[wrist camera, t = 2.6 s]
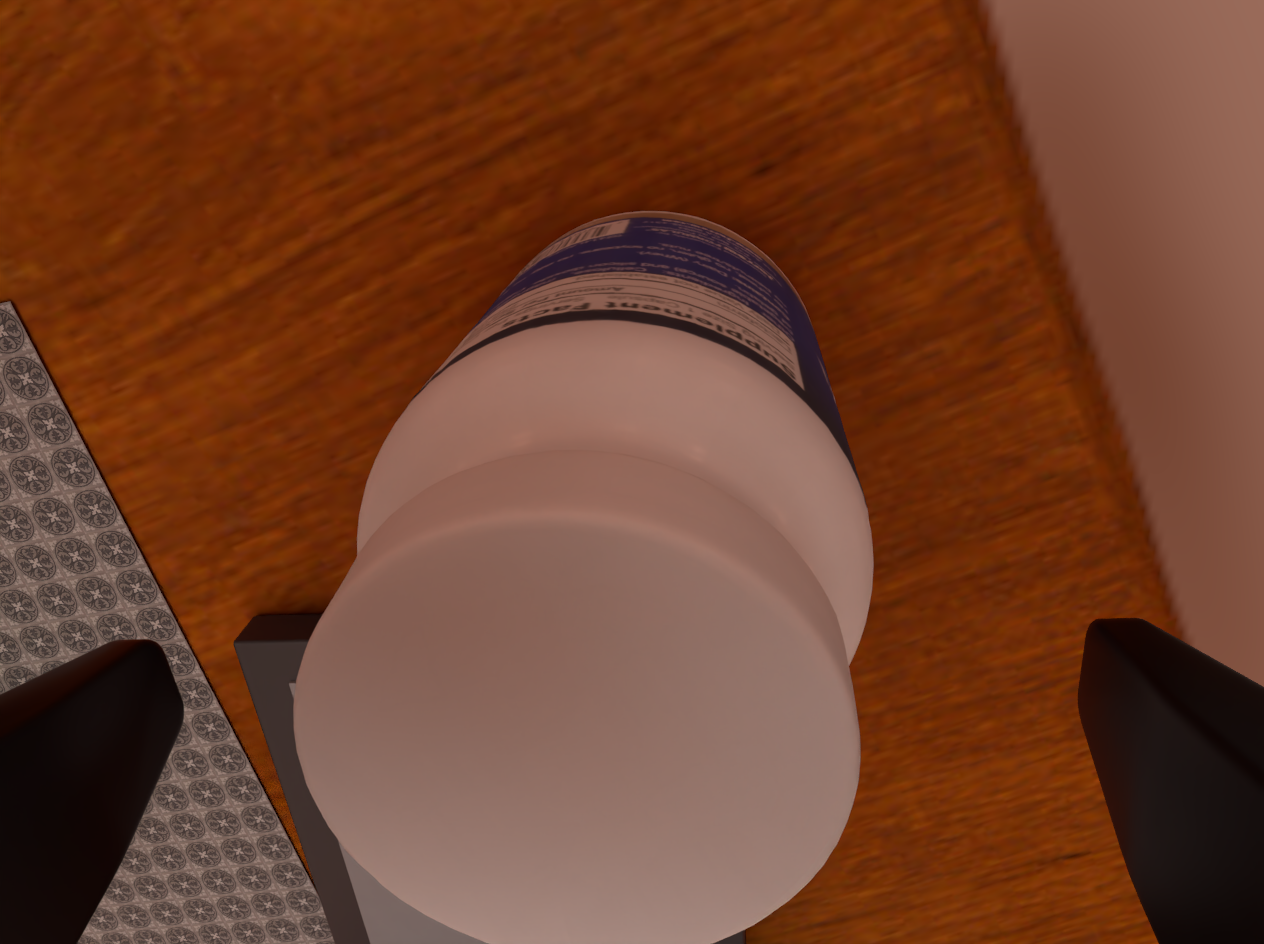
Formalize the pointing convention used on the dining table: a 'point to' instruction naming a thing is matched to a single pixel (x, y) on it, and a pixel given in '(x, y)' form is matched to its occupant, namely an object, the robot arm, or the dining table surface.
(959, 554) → the dining table surface
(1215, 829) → the robot arm
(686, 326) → the pill bottle
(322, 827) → the tray
